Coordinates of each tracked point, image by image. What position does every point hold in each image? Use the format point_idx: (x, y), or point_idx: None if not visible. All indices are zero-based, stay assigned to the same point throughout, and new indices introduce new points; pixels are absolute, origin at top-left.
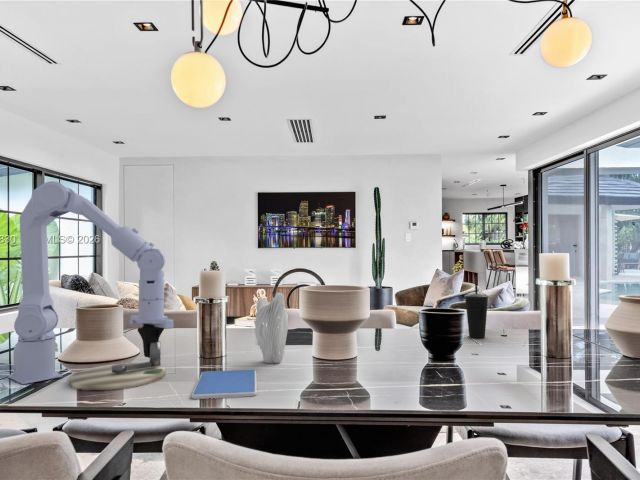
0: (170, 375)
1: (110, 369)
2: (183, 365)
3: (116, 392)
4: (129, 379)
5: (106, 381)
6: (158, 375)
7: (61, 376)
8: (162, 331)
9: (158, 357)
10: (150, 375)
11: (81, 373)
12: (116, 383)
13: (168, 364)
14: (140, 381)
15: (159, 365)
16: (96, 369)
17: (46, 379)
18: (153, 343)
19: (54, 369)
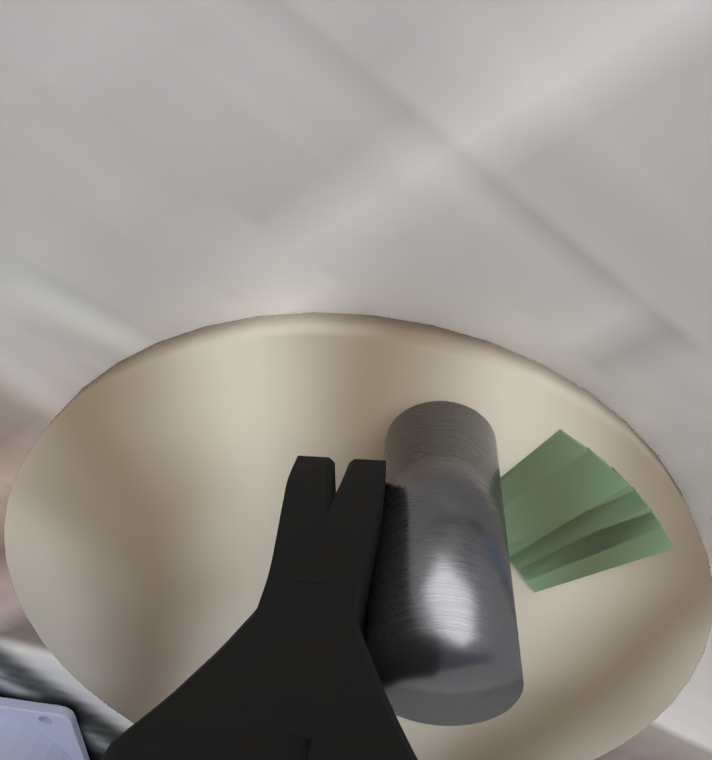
0: (683, 407)
1: (178, 601)
2: (469, 11)
3: (637, 745)
4: (571, 685)
5: (473, 741)
6: (706, 568)
7: (71, 712)
8: (407, 741)
9: (504, 514)
10: (634, 588)
11: (150, 702)
12: (574, 746)
13: (244, 101)
14: (683, 680)
15: (493, 435)
16: (103, 631)
17: (86, 752)
18: (481, 713)
19: (6, 753)
